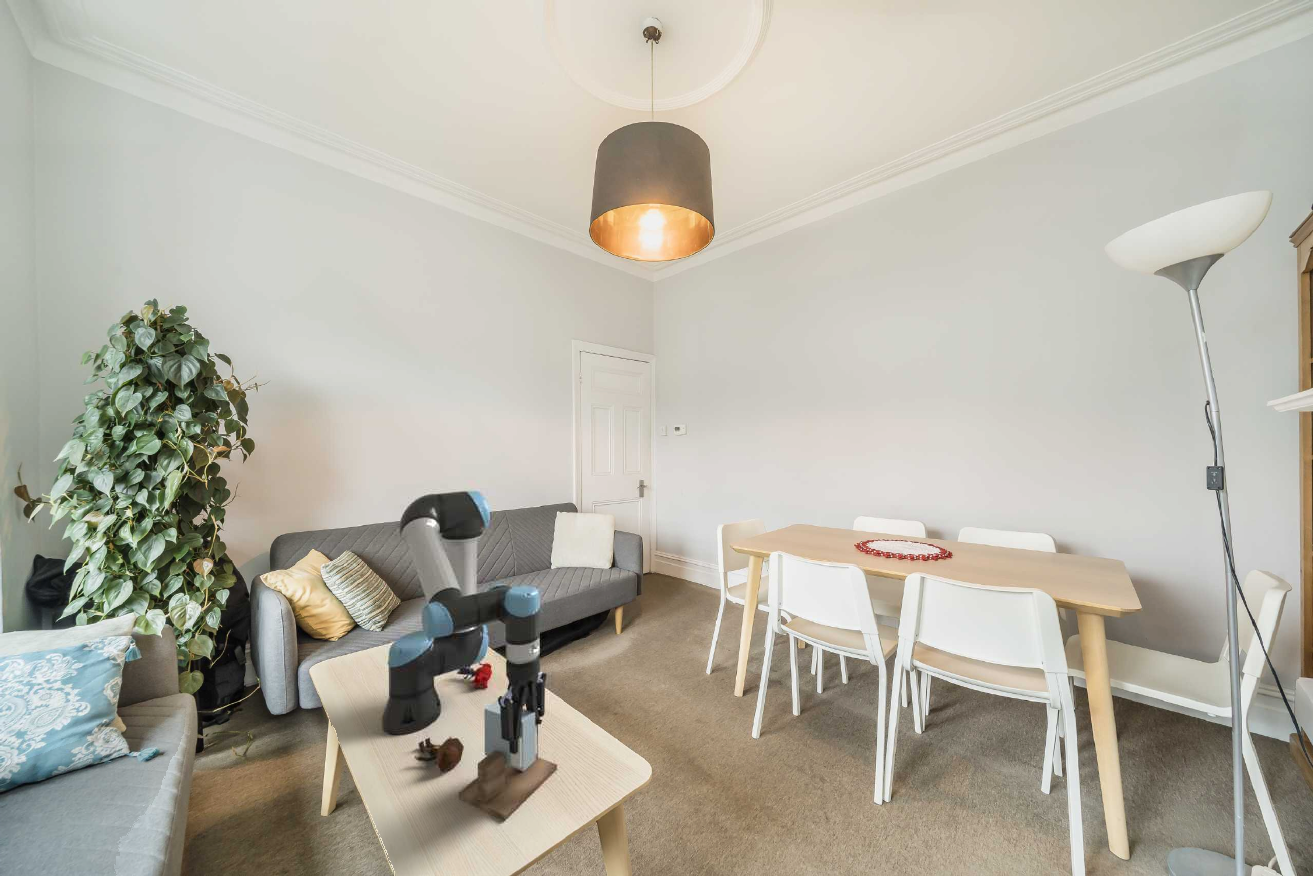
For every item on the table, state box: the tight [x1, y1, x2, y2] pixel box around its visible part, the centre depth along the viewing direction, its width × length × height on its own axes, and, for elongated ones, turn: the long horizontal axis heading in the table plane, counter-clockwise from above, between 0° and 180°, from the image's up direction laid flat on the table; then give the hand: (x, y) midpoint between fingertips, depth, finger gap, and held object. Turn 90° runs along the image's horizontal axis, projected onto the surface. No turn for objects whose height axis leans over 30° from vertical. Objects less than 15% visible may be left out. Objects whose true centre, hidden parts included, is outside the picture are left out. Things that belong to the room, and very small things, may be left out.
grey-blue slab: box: [483, 699, 536, 771], centre depth 109 cm, size 12×4×11 cm, turn 63°
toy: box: [414, 736, 465, 773], centre depth 117 cm, size 10×7×15 cm
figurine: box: [456, 661, 493, 689], centre depth 153 cm, size 6×8×15 cm
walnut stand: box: [458, 735, 558, 822], centre depth 109 cm, size 14×17×9 cm
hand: (524, 758), depth 107 cm, fingers closed on grey-blue slab, 4 cm apart
